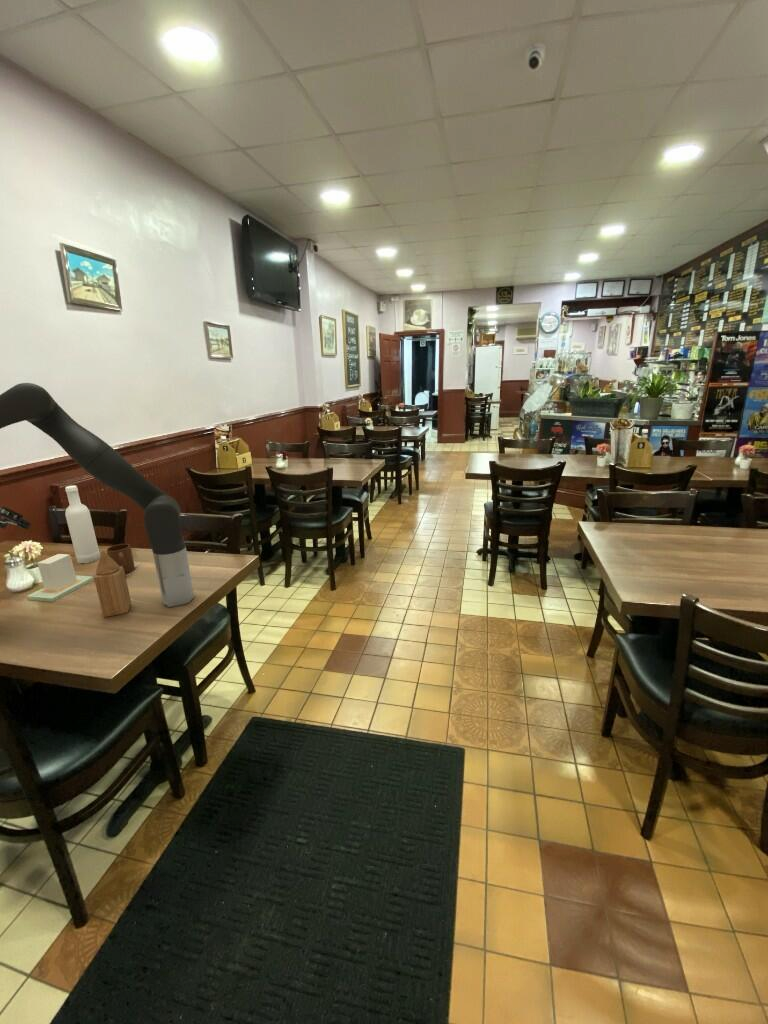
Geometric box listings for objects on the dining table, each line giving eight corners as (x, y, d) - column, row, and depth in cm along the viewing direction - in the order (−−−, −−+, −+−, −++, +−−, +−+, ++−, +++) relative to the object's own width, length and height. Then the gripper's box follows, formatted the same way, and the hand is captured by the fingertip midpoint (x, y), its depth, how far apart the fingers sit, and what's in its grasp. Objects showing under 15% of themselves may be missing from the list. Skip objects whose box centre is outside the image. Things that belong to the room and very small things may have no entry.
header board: (71, 577, 155) (67, 565, 154) (94, 579, 153) (91, 566, 152) (27, 599, 141) (23, 585, 139) (52, 601, 139) (48, 587, 137)
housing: (65, 580, 151) (58, 553, 148) (77, 581, 150) (70, 554, 147) (45, 590, 144) (37, 562, 141) (57, 591, 143) (49, 563, 140)
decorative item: (108, 607, 134) (93, 547, 128) (132, 603, 136) (118, 544, 130) (103, 618, 128) (87, 555, 122) (128, 613, 130) (114, 552, 124)
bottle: (104, 558, 172) (87, 485, 163) (83, 565, 166) (64, 490, 157) (94, 554, 176) (77, 483, 168) (73, 561, 170) (54, 487, 161)
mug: (138, 575, 156) (133, 551, 153) (114, 581, 152) (108, 556, 149) (133, 564, 165) (128, 542, 162) (110, 570, 161) (105, 546, 158)
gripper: (-11, 487, 114) (42, 515, 128) (-52, 487, 117) (4, 514, 131) (-26, 513, 110) (30, 538, 124) (-69, 511, 113) (-9, 537, 127)
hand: (17, 526), depth 127 cm, fingers open, 8 cm apart
